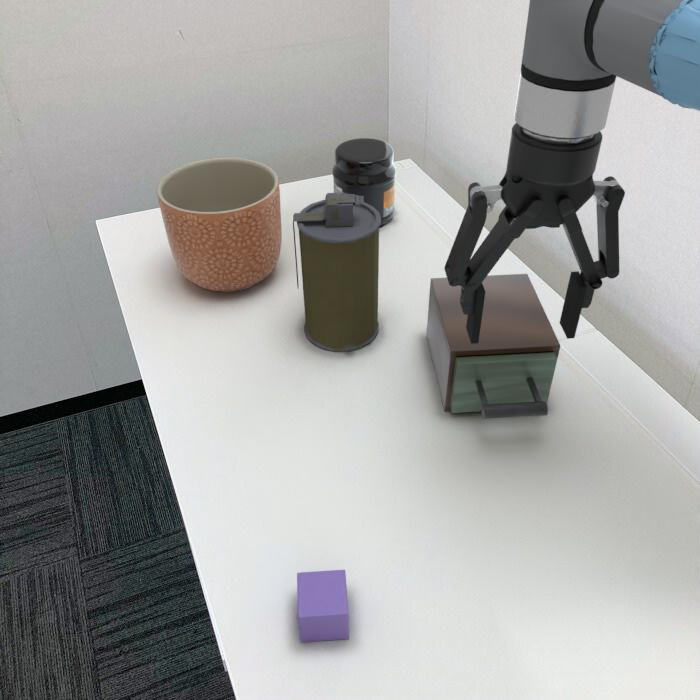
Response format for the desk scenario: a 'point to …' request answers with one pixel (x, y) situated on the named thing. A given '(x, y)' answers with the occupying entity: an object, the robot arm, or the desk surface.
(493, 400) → the green drawer
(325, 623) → the lavender cube
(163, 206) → the planter
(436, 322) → the drawer cabinet
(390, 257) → the desk surface
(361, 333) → the canister
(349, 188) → the supplement container
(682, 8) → the robot arm
